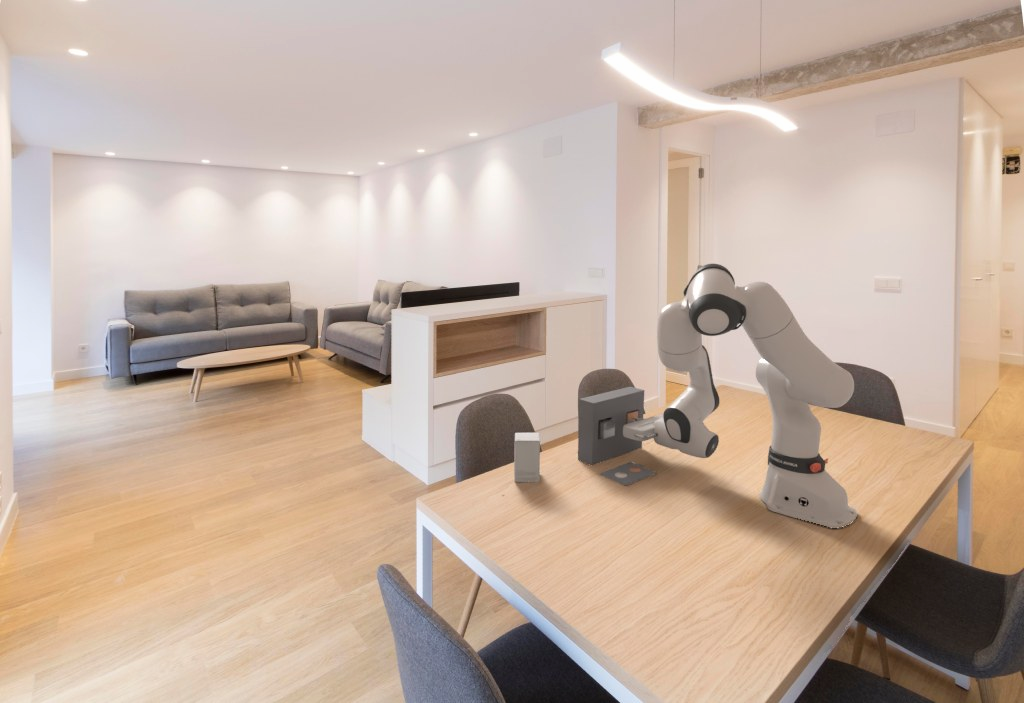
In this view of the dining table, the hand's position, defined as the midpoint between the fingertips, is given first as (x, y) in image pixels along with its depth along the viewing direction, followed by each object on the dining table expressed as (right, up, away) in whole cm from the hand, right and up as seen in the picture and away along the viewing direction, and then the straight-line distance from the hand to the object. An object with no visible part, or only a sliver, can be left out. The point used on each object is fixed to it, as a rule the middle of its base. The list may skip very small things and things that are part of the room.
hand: (630, 420), depth 177 cm
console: (-6, -11, +1) cm, 13 cm away
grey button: (-9, -4, -7) cm, 12 cm away
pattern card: (-4, -14, -14) cm, 20 cm away
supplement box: (-34, -15, -16) cm, 41 cm away
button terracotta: (0, -2, +2) cm, 3 cm away
